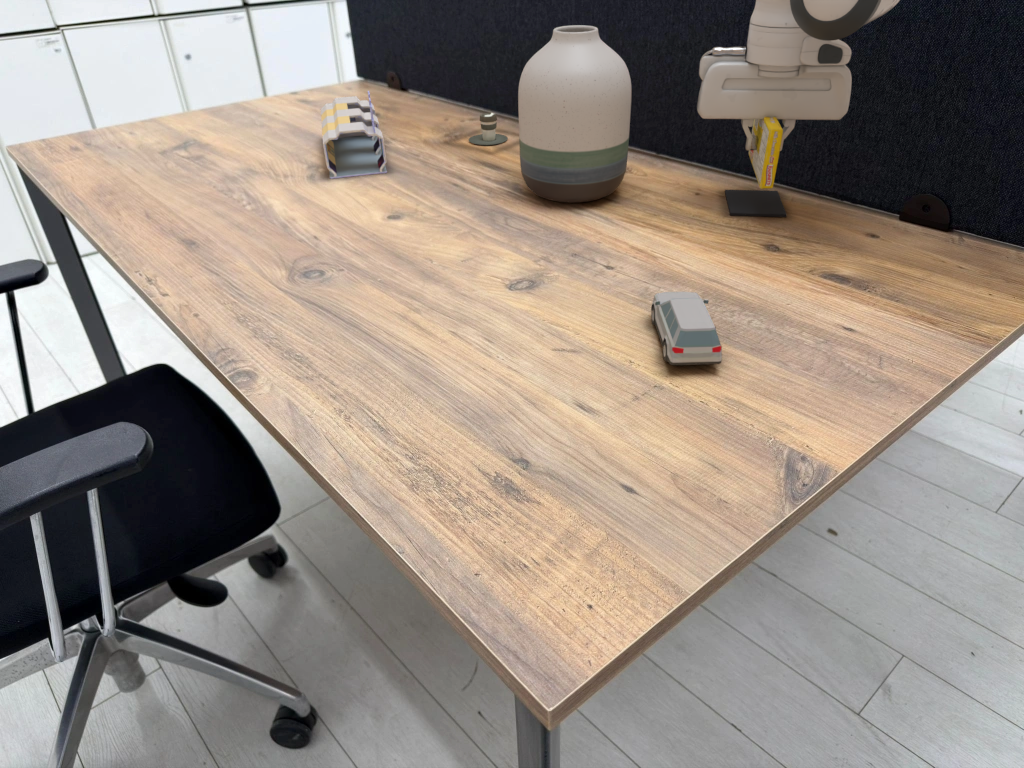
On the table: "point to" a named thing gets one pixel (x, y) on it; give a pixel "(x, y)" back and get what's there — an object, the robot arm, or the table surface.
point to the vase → (574, 117)
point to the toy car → (685, 329)
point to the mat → (755, 203)
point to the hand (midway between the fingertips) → (763, 149)
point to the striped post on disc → (488, 131)
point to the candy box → (766, 150)
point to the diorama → (352, 138)
